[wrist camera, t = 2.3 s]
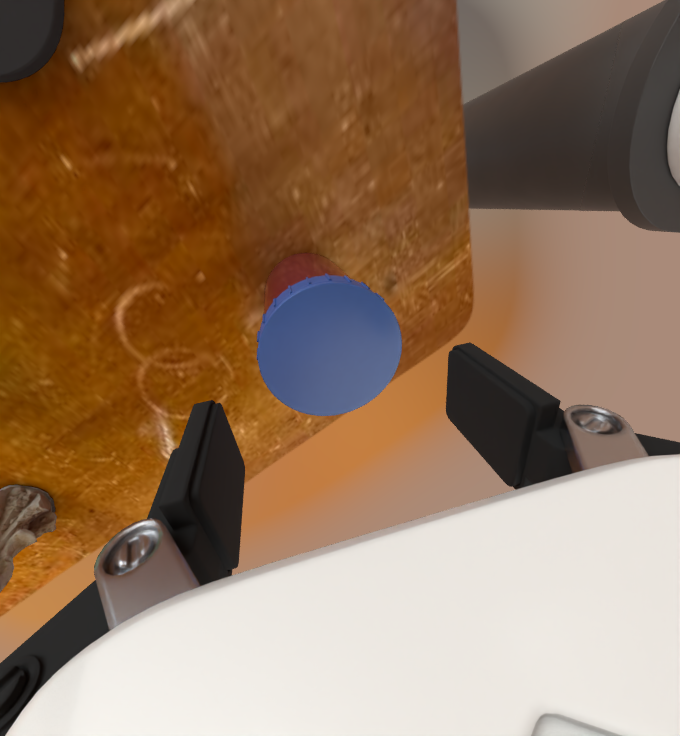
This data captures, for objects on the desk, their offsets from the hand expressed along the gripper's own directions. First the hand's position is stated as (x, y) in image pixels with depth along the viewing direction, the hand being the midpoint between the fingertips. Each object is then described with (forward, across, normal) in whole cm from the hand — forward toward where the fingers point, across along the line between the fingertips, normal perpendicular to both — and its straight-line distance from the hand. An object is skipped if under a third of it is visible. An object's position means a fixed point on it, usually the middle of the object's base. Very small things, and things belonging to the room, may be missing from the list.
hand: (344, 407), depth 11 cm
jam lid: (+4, 0, 0) cm, 4 cm away
